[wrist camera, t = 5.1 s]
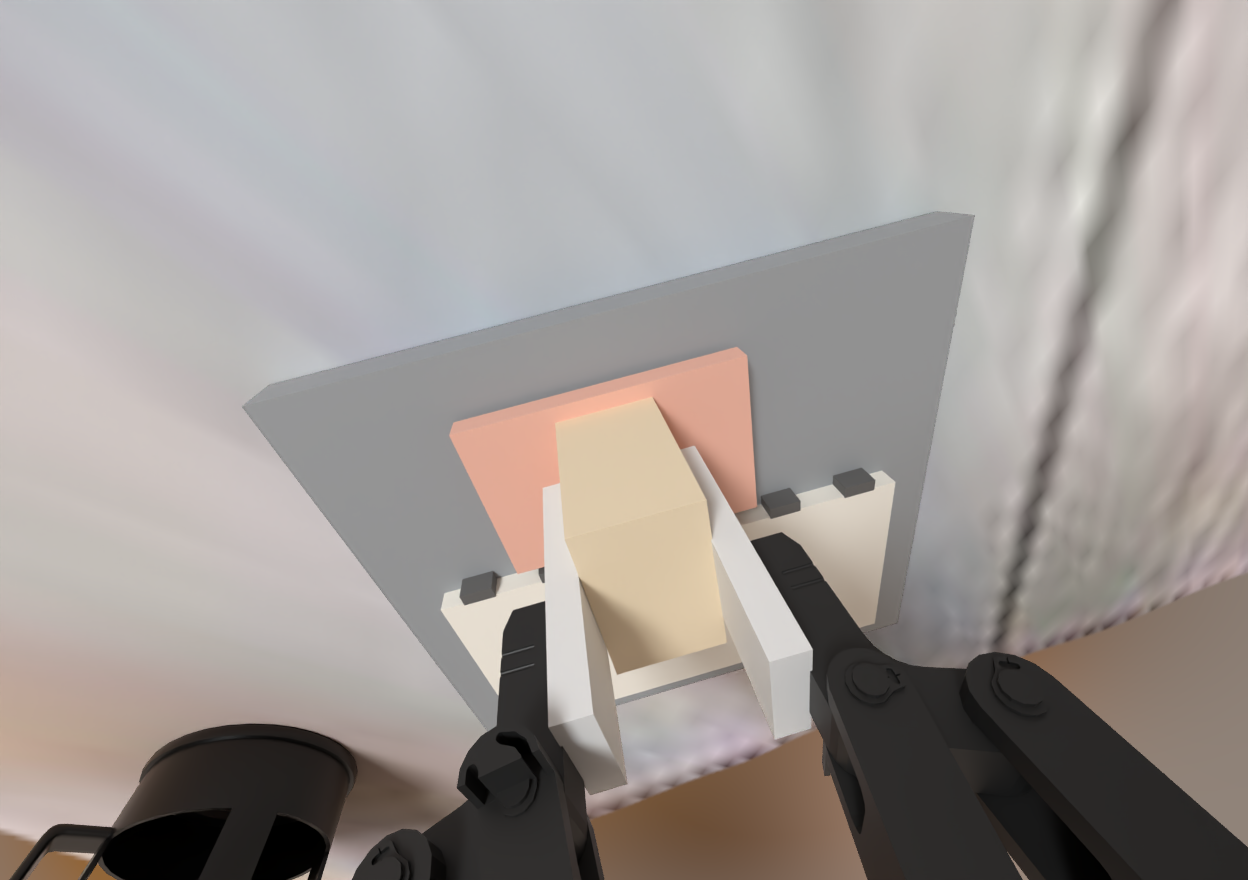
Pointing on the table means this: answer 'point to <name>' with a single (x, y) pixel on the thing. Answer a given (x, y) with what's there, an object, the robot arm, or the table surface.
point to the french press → (221, 810)
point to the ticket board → (625, 345)
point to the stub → (625, 494)
